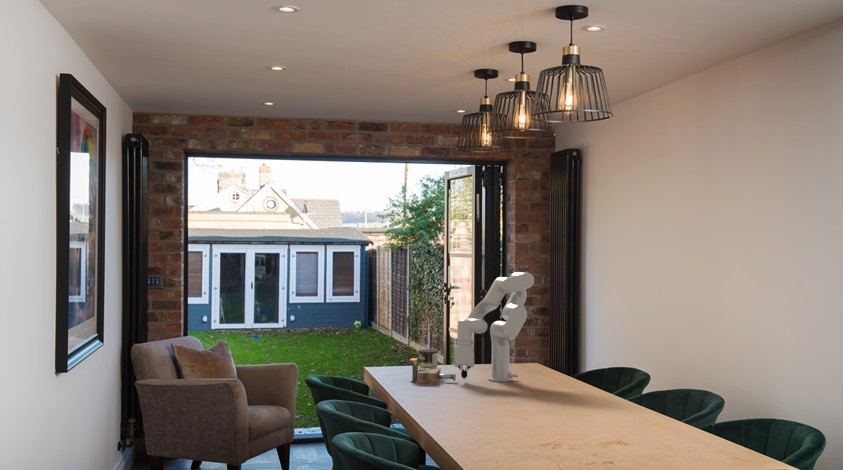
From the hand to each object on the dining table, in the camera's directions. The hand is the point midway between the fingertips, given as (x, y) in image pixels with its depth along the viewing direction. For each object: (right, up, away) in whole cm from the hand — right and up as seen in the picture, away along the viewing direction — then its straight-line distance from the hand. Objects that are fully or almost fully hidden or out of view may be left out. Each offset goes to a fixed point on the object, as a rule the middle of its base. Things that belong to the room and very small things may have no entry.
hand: (464, 378), depth 415 cm
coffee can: (-19, -3, +22) cm, 29 cm away
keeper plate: (-26, +3, +4) cm, 27 cm away
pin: (-11, -1, +2) cm, 11 cm away
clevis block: (-20, -2, +3) cm, 21 cm away
